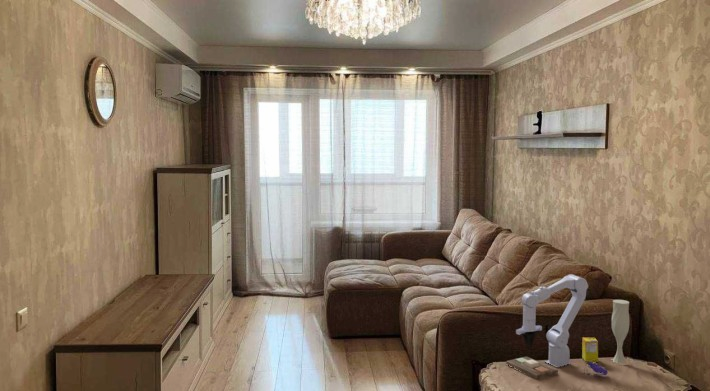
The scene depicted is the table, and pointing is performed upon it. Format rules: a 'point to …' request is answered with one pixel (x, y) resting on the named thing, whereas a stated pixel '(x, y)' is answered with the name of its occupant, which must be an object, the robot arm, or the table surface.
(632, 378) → the table surface
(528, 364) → the cream button
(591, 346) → the supplement box
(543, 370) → the terracotta button
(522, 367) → the button panel
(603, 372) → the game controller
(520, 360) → the sage button
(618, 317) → the vase
